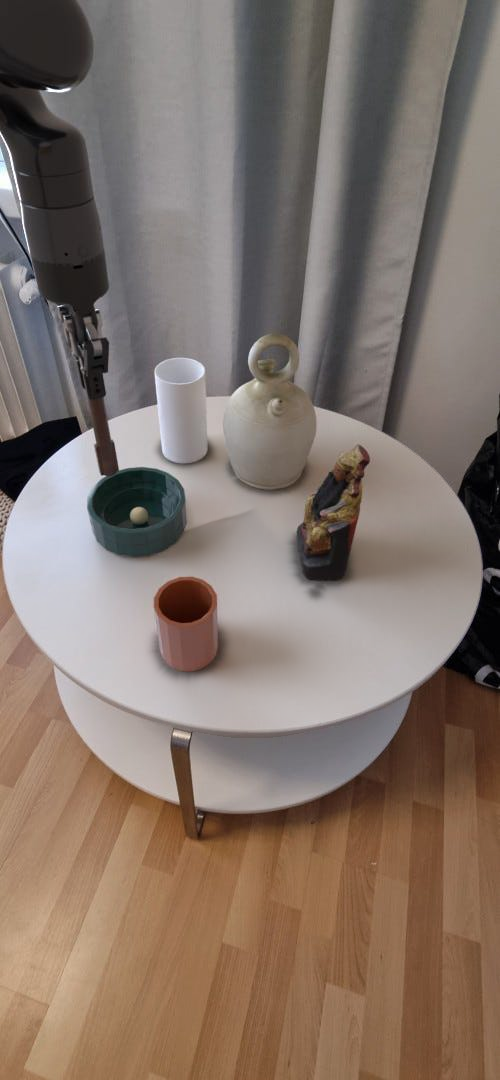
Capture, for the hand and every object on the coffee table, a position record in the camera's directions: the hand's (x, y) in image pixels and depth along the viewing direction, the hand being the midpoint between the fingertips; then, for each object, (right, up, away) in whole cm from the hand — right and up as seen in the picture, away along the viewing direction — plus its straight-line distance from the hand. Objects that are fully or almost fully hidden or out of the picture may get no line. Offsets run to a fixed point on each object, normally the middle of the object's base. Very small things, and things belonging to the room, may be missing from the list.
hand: (93, 391), depth 73 cm
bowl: (+2, -16, +20) cm, 26 cm away
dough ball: (+2, -15, +19) cm, 24 cm away
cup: (+7, -2, +34) cm, 35 cm away
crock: (+11, -33, +5) cm, 35 cm away
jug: (+22, -6, +31) cm, 39 cm away
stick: (0, -9, +10) cm, 13 cm away
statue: (+30, -22, +16) cm, 41 cm away
